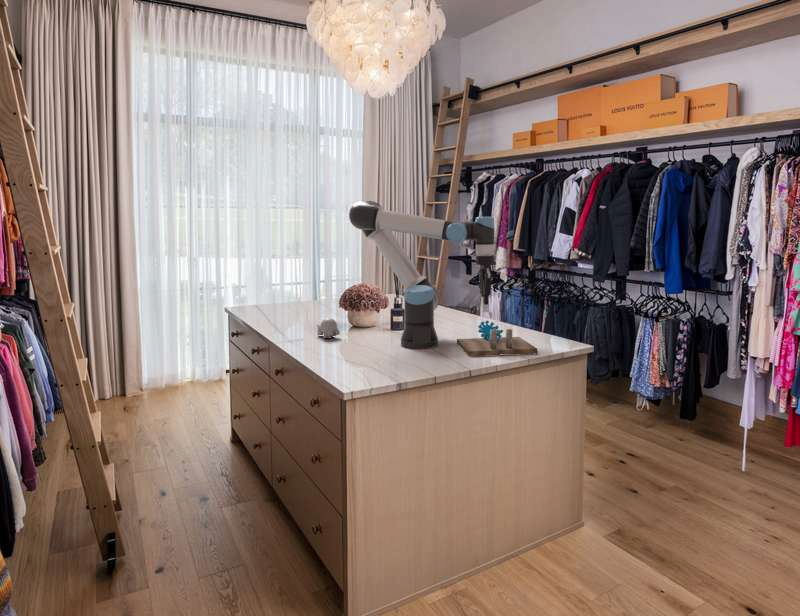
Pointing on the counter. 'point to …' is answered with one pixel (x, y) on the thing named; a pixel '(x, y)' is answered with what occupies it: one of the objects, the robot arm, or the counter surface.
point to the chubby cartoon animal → (328, 328)
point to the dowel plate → (501, 346)
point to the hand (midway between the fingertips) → (485, 311)
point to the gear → (488, 330)
